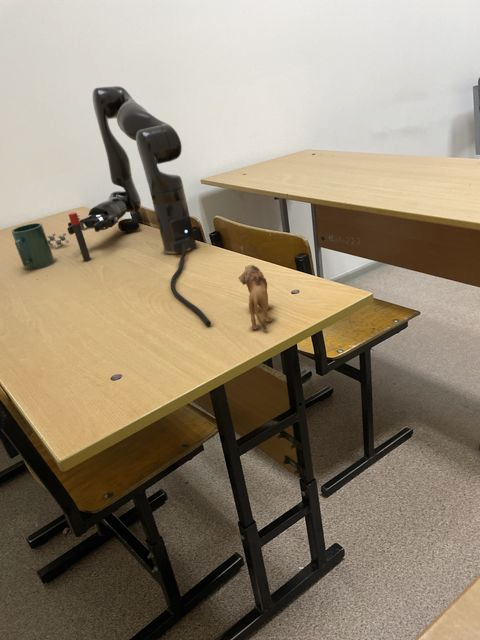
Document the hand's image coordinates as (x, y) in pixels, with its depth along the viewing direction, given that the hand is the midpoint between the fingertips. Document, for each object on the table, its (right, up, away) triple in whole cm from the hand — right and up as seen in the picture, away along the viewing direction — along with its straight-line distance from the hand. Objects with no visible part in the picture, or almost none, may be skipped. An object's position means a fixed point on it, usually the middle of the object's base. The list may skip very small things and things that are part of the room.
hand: (82, 230), depth 157 cm
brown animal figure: (+53, -29, -51) cm, 79 cm away
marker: (+1, -9, +2) cm, 9 cm away
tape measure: (+8, +7, +24) cm, 26 cm away
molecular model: (-17, -1, +21) cm, 27 cm away
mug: (-15, -10, +4) cm, 18 cm away
